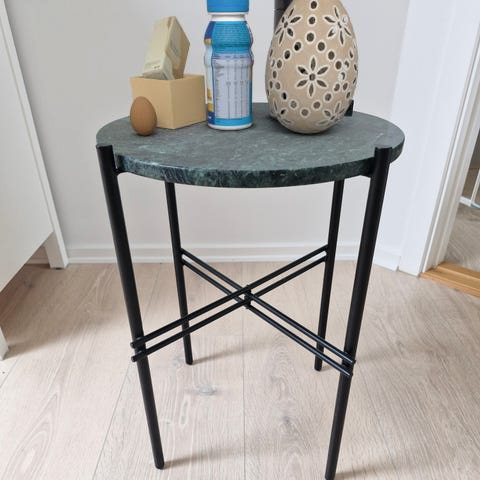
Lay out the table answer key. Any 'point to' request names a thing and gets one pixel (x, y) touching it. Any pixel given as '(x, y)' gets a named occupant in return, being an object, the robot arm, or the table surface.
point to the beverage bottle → (229, 65)
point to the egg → (143, 116)
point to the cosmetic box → (166, 51)
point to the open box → (174, 99)
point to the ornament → (313, 51)
